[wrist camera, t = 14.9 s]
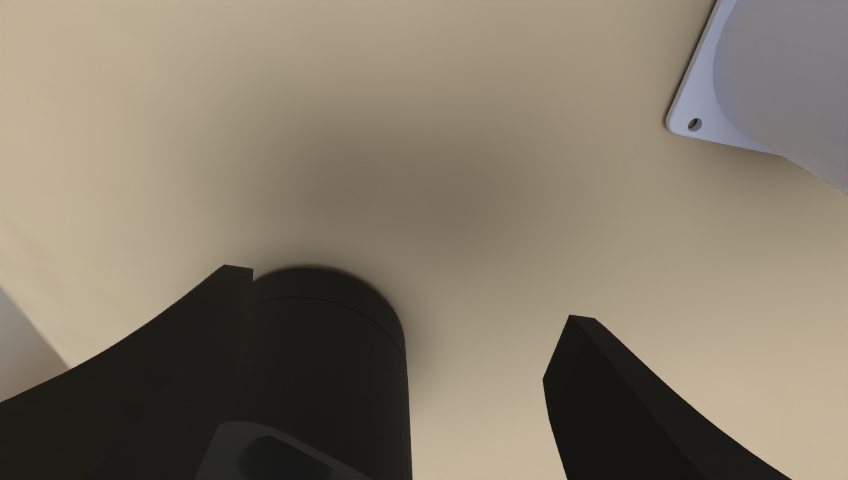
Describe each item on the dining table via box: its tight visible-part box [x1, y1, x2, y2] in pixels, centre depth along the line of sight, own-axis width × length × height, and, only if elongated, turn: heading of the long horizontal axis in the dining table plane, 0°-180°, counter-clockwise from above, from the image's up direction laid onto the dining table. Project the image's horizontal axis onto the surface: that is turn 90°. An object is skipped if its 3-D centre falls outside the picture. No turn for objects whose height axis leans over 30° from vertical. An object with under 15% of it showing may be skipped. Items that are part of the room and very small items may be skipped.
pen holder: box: [195, 269, 413, 480], centre depth 21 cm, size 9×9×10 cm
